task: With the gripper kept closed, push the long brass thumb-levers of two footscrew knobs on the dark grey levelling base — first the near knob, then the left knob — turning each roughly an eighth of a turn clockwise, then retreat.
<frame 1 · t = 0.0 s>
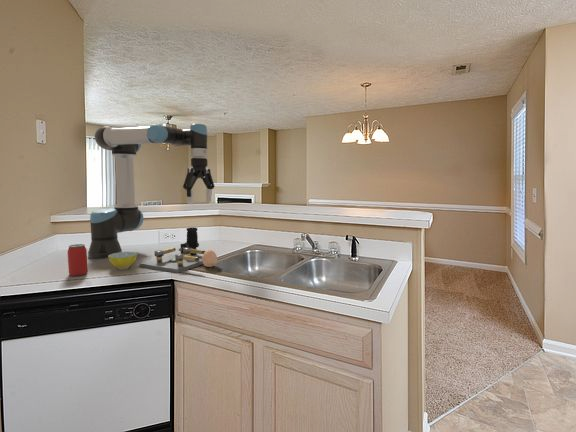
hand: (199, 203, 160), 28 cm above the counter, fingers open, 13 cm apart
beer can: (78, 274, 138), on the counter
bowl: (123, 268, 148), on the counter
knob right: (187, 261, 146), point 4 cm above the counter, hinge at 0.0°
knob near: (165, 254, 157), point 4 cm above the counter, hinge at 0.0°
knob left: (194, 254, 159), point 4 cm above the counter, hinge at 0.0°
scope: (190, 254, 177), on the counter
egg: (209, 267, 152), on the counter
levelling base: (174, 264, 156), on the counter
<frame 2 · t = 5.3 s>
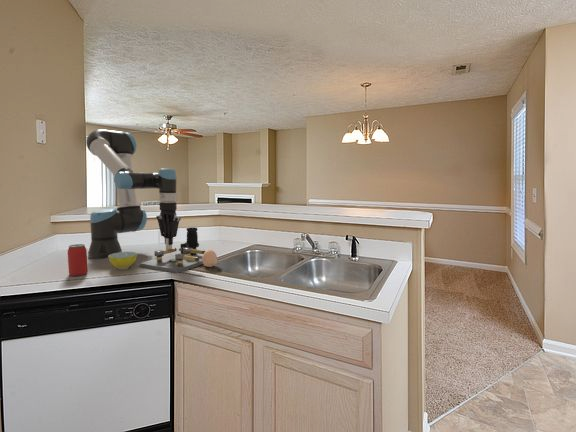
hand: (169, 251, 160), 5 cm above the counter, fingers closed
knob near: (166, 254, 157), point 4 cm above the counter, hinge at -4.1°, touching gripper
everything else where it was.
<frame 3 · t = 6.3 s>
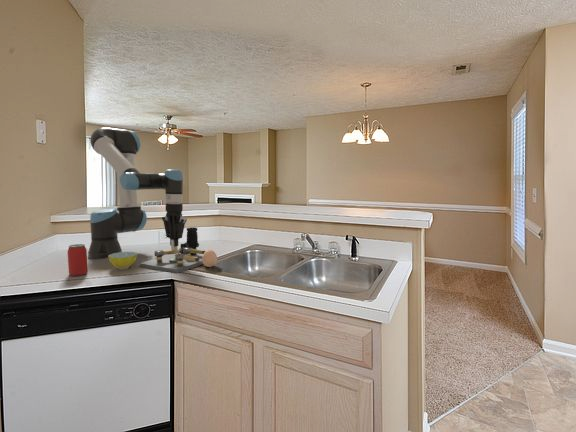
hand: (174, 252, 159), 5 cm above the counter, fingers closed
knob near: (168, 255, 155), point 4 cm above the counter, hinge at -36.1°, touching gripper
everything else where it was.
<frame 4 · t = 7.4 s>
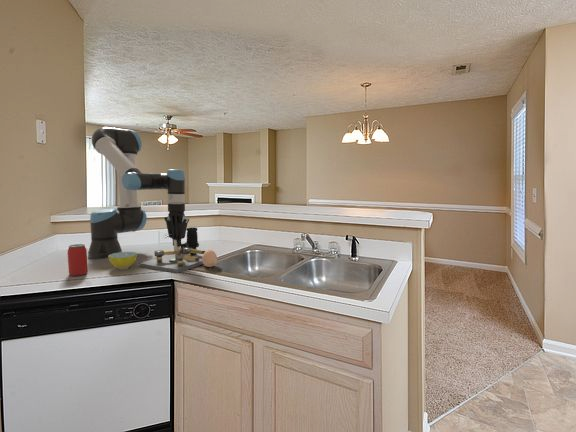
hand: (177, 252, 158), 5 cm above the counter, fingers closed
knob near: (168, 255, 155), point 4 cm above the counter, hinge at -44.8°, touching gripper
everything else where it was.
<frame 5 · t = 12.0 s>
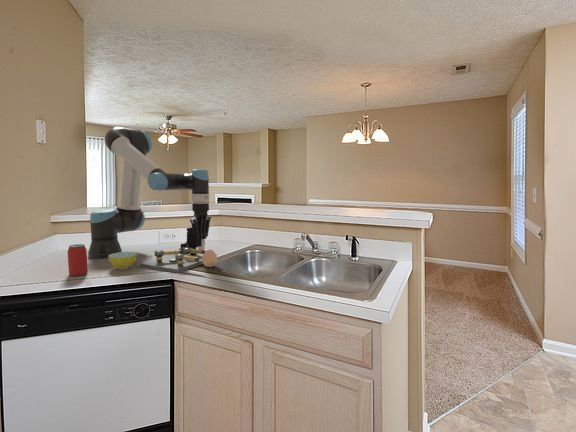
hand: (201, 252, 159), 5 cm above the counter, fingers closed
knob near: (168, 255, 155), point 4 cm above the counter, hinge at -45.5°
knob left: (194, 254, 159), point 4 cm above the counter, hinge at 0.0°, touching gripper
everything else where it was.
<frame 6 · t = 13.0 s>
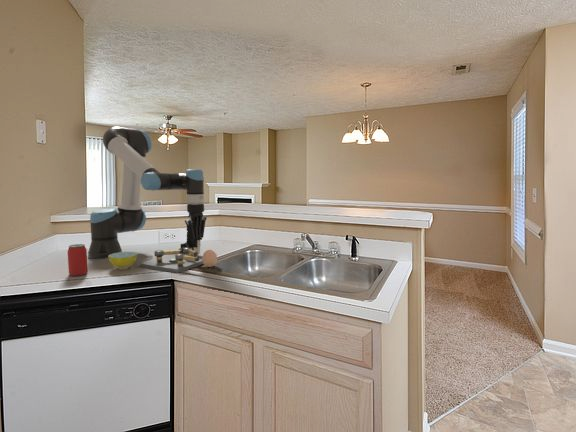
hand: (197, 253, 157), 5 cm above the counter, fingers closed
knob left: (191, 254, 157), point 4 cm above the counter, hinge at -28.0°, touching gripper
everything else where it was.
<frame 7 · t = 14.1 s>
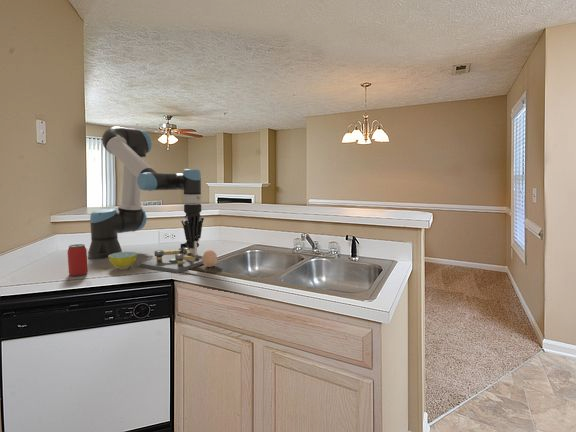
hand: (193, 254, 154), 5 cm above the counter, fingers closed
knob left: (188, 254, 157), point 4 cm above the counter, hinge at -45.2°, touching gripper
everything else where it was.
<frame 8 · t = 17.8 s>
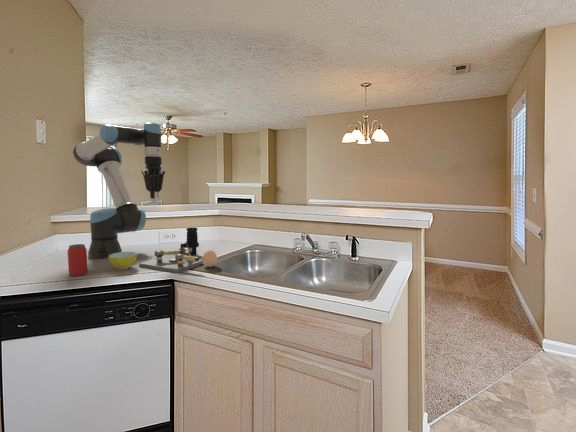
hand: (154, 204, 165), 26 cm above the counter, fingers closed
knob left: (187, 255, 157), point 4 cm above the counter, hinge at -51.3°
everything else where it was.
at the end: knob near at -46° (first picture: +0°); knob left at -51° (first picture: +0°); knob right at +0° (first picture: +0°) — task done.
